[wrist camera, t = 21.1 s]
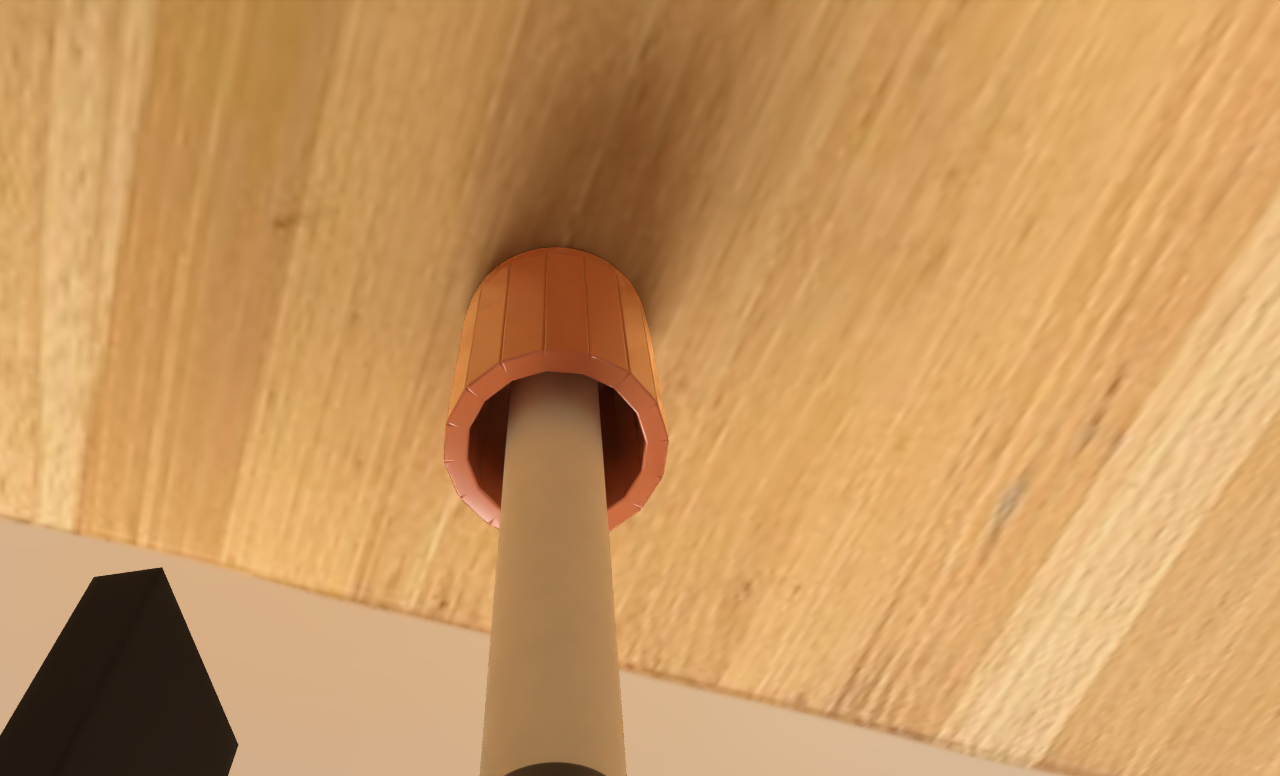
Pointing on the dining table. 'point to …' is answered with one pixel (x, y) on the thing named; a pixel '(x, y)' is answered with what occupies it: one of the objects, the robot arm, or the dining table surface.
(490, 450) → the pen pot
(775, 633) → the dining table surface
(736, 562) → the dining table surface
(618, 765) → the marker
